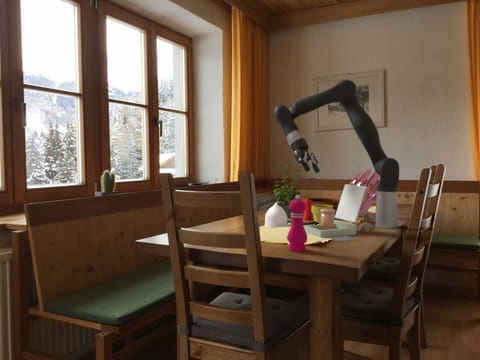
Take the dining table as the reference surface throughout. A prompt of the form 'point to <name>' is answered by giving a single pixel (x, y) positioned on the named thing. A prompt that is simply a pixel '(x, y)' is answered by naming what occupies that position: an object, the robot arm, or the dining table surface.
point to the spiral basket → (367, 189)
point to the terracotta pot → (327, 219)
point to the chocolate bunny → (368, 222)
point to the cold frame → (343, 214)
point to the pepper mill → (297, 226)
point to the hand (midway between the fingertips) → (313, 171)
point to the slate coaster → (342, 238)
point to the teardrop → (276, 217)
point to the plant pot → (316, 211)
